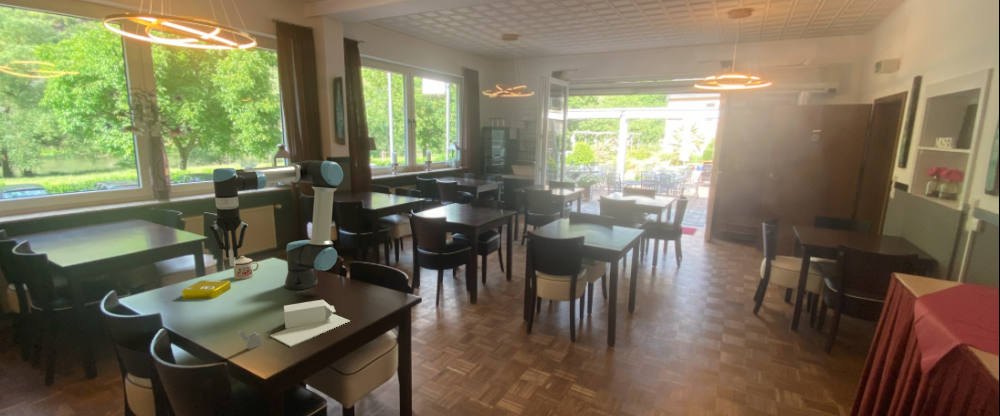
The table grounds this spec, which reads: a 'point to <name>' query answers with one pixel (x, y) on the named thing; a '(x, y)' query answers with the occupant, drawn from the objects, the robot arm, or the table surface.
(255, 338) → the lighter
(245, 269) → the teacup with lid
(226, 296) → the table surface
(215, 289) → the element tile
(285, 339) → the mat
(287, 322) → the milk carton
